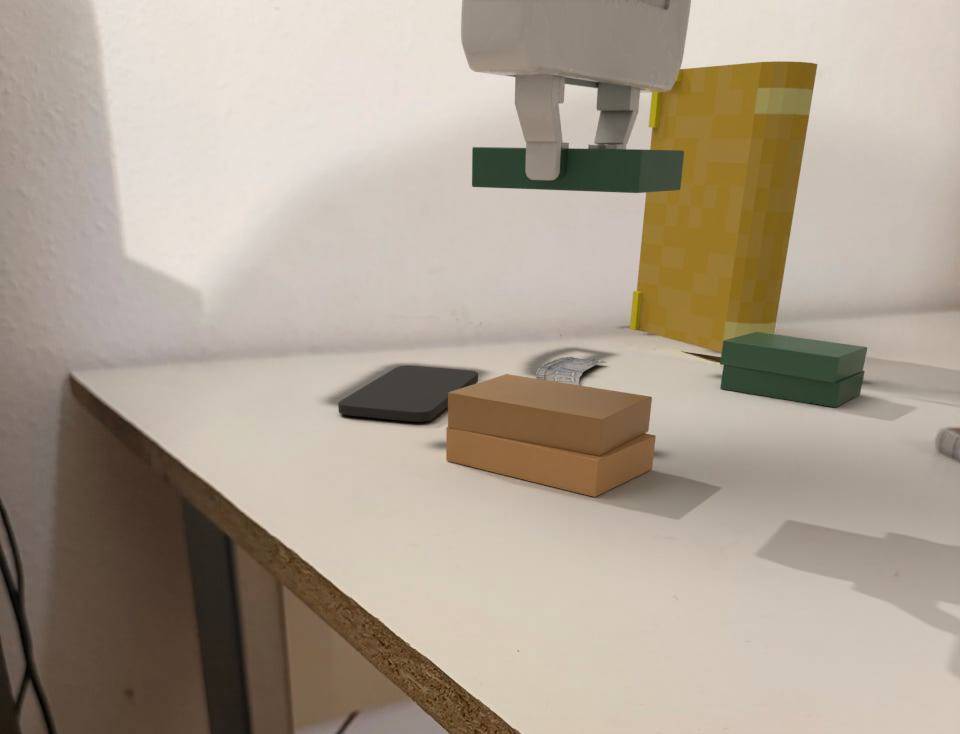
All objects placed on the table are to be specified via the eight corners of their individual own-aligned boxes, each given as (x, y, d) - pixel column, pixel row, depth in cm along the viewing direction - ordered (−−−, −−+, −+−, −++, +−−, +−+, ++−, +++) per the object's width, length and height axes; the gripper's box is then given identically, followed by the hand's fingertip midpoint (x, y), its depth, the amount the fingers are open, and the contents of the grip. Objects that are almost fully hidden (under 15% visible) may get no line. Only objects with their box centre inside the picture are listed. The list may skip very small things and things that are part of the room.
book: (628, 337, 103) (653, 71, 92) (678, 334, 106) (708, 75, 95) (732, 367, 90) (776, 59, 79) (785, 362, 93) (836, 65, 82)
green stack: (860, 394, 81) (870, 346, 79) (834, 408, 76) (844, 357, 74) (745, 376, 87) (752, 331, 85) (713, 389, 82) (720, 341, 80)
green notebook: (680, 190, 54) (684, 150, 53) (638, 193, 49) (641, 149, 48) (524, 184, 58) (526, 147, 57) (471, 187, 53) (471, 146, 52)
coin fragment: (574, 389, 80) (575, 384, 80) (520, 382, 81) (520, 377, 81) (609, 363, 90) (609, 358, 90) (560, 357, 92) (560, 352, 92)
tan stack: (655, 467, 61) (663, 398, 59) (594, 497, 55) (600, 422, 53) (510, 436, 66) (512, 372, 64) (441, 460, 61) (441, 390, 59)
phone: (332, 404, 70) (399, 364, 82) (332, 415, 70) (399, 374, 83) (428, 413, 68) (482, 371, 81) (428, 425, 68) (482, 381, 81)
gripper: (558, -203, 38) (543, 184, 44) (720, -96, 53) (691, 177, 60) (425, -181, 40) (429, 180, 47) (616, -86, 56) (599, 175, 63)
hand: (577, 179), depth 53 cm, fingers closed on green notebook, 6 cm apart
